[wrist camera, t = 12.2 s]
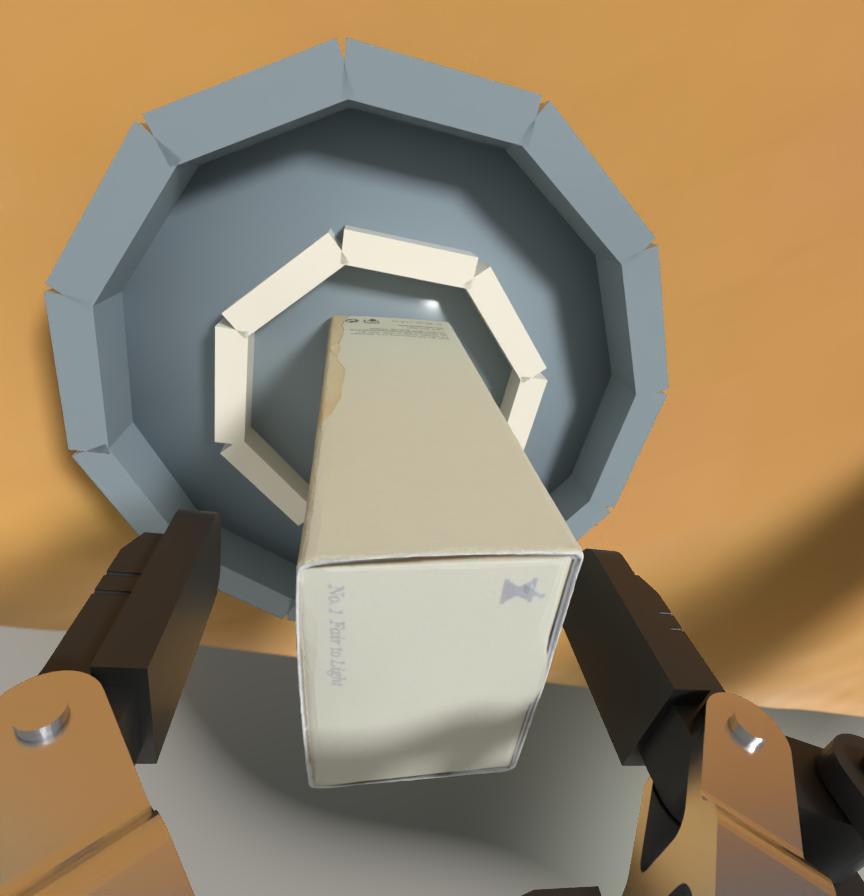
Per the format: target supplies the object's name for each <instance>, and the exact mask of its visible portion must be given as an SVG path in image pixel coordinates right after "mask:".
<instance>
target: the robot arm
mask: <svg viewBox="0 0 864 896" xmlns="http://www.w3.org/2000/svg"><path fill="white" fill-rule="evenodd" d="M582 552H583V554H584V557H583V562H582V565H581V568H580V571H579V573H578V576H577V579H576V582H575V586H574V591H573V594H572V596H571V599H570V603H569V607H568V609H567V613H566V616H565V620H564V622H563V628H564V630H565V632H566V635H567V637H568V639H569V642H570V644H571V647H572V649H573V651H574V654H575V656H576V658H577V661H578V663H579V665H580V668H581V670H582V672H583V675H584V677H585V679H586V682H587V684H588V687H589V689H590V691H591V694H592V696H593V698H594V701H595V703H596V705H597V708H598V710H599V712H600V715H601V717H602V719H603V722H604V724H605V726H606V728H607V731H608V734H609V736H610V738H611V741H612V743H613V745H614V748H615V750H616V752H617V754H618V757H619V759H620V762H621V764H622V766H624V765H625V766H632V765H633V766H643V765H645V766H646V767H647V770H648V772H649V774H650V777H649V778H648V780H647V781H646V783H645V785H644V789H643V795H642V800H641V806H640V812H639V818H638V824H637V829H636V836H635V841H634V847H633V853H632V859H631V864H630V870H629V876H628V880H627V884H626V886H625V889H624V892H623V894H622V896H864V882H863V880H862V879H861V877H860V876H859V874H858V872H857V871H859V870H860V869H861V868H863V867H864V738H862V737H859V736H856V735H852V734H840V735H838V736H836V737H835V738H834V739H833V740H832V741H831V742H830V743H829V744H828V745H827V746H826V747H825V748H824V749H823V748H820V747H817V746H814V745H811V744H808V743H805V742H802V741H799V740H796V739H793V738H791V737H788V736H785V735H784V734H783V732H782V731H781V729H780V728H779V727H778V725H777V724H776V723H775V722H774V721H773V720H772V719H771V718H770V717H769V716H768V715H767V714H766V713H765V712H764V711H762V710H761V709H760V708H759V707H757V706H756V705H754V704H753V703H751V702H750V701H748V700H746V699H744V698H742V697H740V696H737V695H734V694H731V693H726V692H725V691H724V689H723V688H722V686H721V685H720V683H719V682H718V680H717V679H716V677H715V676H714V675H713V673H712V672H711V670H710V669H709V667H708V666H707V664H706V663H705V661H704V660H703V658H702V657H701V655H700V654H699V653H698V651H697V650H696V648H695V647H694V645H693V644H692V642H691V641H690V639H689V638H688V636H687V635H686V634H685V632H682V631H681V626H680V625H679V623H678V622H677V620H676V619H675V617H674V616H671V614H670V613H671V612H670V610H669V609H668V607H667V606H666V604H665V603H664V601H663V600H662V598H661V597H660V595H659V594H658V593H657V592H656V591H655V590H654V589H653V588H652V587H651V586H650V585H648V584H647V583H646V582H645V581H644V580H643V579H642V578H641V577H640V576H638V575H635V574H634V572H633V571H632V569H631V568H630V566H629V565H628V563H627V562H626V560H625V559H624V557H623V556H622V555H621V554H620V553H619V552H616V551H606V550H596V549H585V550H583V551H582ZM220 561H221V516H220V513H219V512H209V511H199V510H188V509H179V510H178V511H177V512H176V513H175V515H174V517H173V519H172V520H171V522H170V524H169V526H168V527H167V529H166V531H165V533H164V534H161V533H150V532H144V533H143V534H141V535H140V536H139V537H137V538H136V539H134V540H133V541H132V542H130V543H129V544H128V545H126V546H125V547H123V548H122V549H121V550H120V551H119V553H118V555H117V556H116V558H115V559H114V561H113V562H112V564H111V565H110V567H109V568H108V570H107V574H106V575H104V576H103V578H102V579H101V581H100V582H99V584H98V585H97V587H96V588H95V592H94V594H91V596H90V598H89V599H88V601H87V602H86V604H85V605H84V607H83V608H82V610H81V611H80V613H79V614H78V616H77V618H76V619H75V621H74V622H73V624H72V625H71V627H70V628H69V630H68V631H67V633H66V634H65V636H64V637H63V639H62V641H61V642H60V644H59V645H58V647H57V648H56V650H55V651H54V653H53V654H52V656H51V657H50V659H49V661H48V662H47V664H46V665H45V667H44V668H43V669H42V671H41V672H40V673H39V675H37V676H36V677H33V678H30V679H28V680H26V681H24V682H22V683H20V684H18V685H16V686H15V687H13V688H11V689H9V690H8V691H7V692H5V693H4V694H3V695H1V696H0V896H195V895H194V893H193V890H192V888H191V886H190V883H189V881H188V878H187V876H186V873H185V871H184V869H183V866H182V864H181V861H180V859H179V856H178V854H177V851H176V849H175V846H174V844H173V841H172V839H171V836H170V834H169V832H168V829H167V827H166V825H165V823H164V821H163V819H162V817H161V816H160V814H159V813H158V811H156V810H155V811H154V810H153V809H152V807H151V806H150V804H149V801H148V799H147V797H146V794H145V792H144V790H143V787H142V785H141V782H140V779H139V777H138V774H137V772H136V769H135V767H134V766H135V764H156V763H157V760H158V758H159V755H160V752H161V749H162V746H163V744H164V741H165V738H166V735H167V732H168V730H169V727H170V724H171V721H172V718H173V716H174V713H175V710H176V707H177V704H178V701H179V699H180V696H181V693H182V690H183V688H184V685H185V682H186V679H187V676H188V674H189V671H190V668H191V665H192V662H193V660H194V657H195V654H196V651H197V648H198V646H199V643H200V640H201V637H202V634H203V631H204V629H205V626H206V623H207V620H208V617H209V615H210V612H211V609H212V606H213V603H214V601H215V597H216V594H217V589H218V584H219V578H220ZM522 896H601V894H600V891H599V888H598V886H595V887H577V888H559V889H541V890H533V891H531V892H529V893H526V894H524V895H522Z"/></svg>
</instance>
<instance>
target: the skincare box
mask: <svg viewBox="0 0 864 896" xmlns="http://www.w3.org/2000/svg"><path fill="white" fill-rule="evenodd" d="M583 557H584V554H583V552H582V549H581V547H580V546H579V544H578V543H577V541H576V539H575V538H574V536H573V534H572V532H571V530H570V529H569V527H568V525H567V523H566V522H565V520H564V518H563V517H562V515H561V513H560V512H559V510H558V508H557V506H556V505H555V503H554V501H553V500H552V498H551V497H550V495H549V493H548V491H547V490H546V488H545V486H544V485H543V483H542V482H541V480H540V478H539V476H538V474H537V473H536V471H535V470H534V468H533V466H532V464H531V462H530V461H529V459H528V457H527V455H526V454H525V452H524V450H523V449H522V447H521V445H520V443H519V442H518V440H517V438H516V436H515V435H514V433H513V432H512V430H511V428H510V426H509V424H508V423H507V421H506V419H505V418H504V416H503V414H502V413H501V411H500V409H499V407H498V406H497V404H496V403H495V401H494V399H493V398H492V396H491V394H490V392H489V390H488V388H487V387H486V385H485V383H484V382H483V380H482V378H481V376H480V375H479V373H478V371H477V370H476V368H475V366H474V364H473V363H472V361H471V359H470V358H469V356H468V354H467V353H466V351H465V349H464V347H463V346H462V344H461V342H460V340H459V339H458V337H457V335H456V333H455V332H454V330H453V328H452V327H451V325H450V324H449V323H448V322H445V321H431V320H419V319H405V318H389V317H371V316H338V315H337V316H332V317H331V319H330V324H329V332H328V341H327V349H326V359H325V369H324V378H323V387H322V394H321V401H320V410H319V417H318V424H317V432H316V439H315V448H314V456H313V463H312V470H311V477H310V484H309V492H308V499H307V506H306V514H305V520H304V525H303V531H302V537H301V544H300V551H299V557H298V561H297V566H296V620H295V623H296V649H297V668H298V684H299V695H300V707H301V721H302V730H303V741H304V749H305V758H306V769H307V774H308V782H309V785H310V787H313V788H332V787H345V786H351V785H360V784H372V783H383V782H384V783H385V782H396V781H410V780H416V779H429V778H442V777H450V776H460V775H468V774H482V773H491V772H504V771H508V770H511V769H513V768H515V766H516V764H517V762H518V759H519V756H520V753H521V750H522V747H523V744H524V741H525V739H526V736H527V733H528V729H529V727H530V725H531V722H532V719H533V716H534V713H535V710H536V707H537V704H538V701H539V699H540V697H541V693H542V691H543V688H544V685H545V682H546V679H547V676H548V672H549V669H550V666H551V662H552V658H553V655H554V651H555V648H556V645H557V643H558V639H559V635H560V633H561V629H562V625H563V622H564V620H565V616H566V613H567V609H568V607H569V603H570V599H571V596H572V594H573V591H574V586H575V582H576V579H577V576H578V573H579V571H580V568H581V565H582V562H583Z"/></svg>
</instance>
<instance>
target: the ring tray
mask: <svg viewBox="0 0 864 896" xmlns="http://www.w3.org/2000/svg"><path fill="white" fill-rule="evenodd" d="M541 97H542V95H540V94H536V93H533V92H530V91H526V90H523V89H520V88H516V87H513V86H509V85H506V84H503V83H499V82H496V81H492V80H489V79H486V78H482V77H479V76H475V75H472V74H469V73H465V72H462V71H458V70H455V69H452V68H448V67H445V66H441V65H438V64H435V63H431V62H428V61H424V60H421V59H418V58H414V57H411V56H407V55H404V54H401V53H397V52H394V51H390V50H387V49H384V48H380V47H377V46H373V45H370V44H367V43H363V42H360V41H356V40H353V39H350V38H347V39H346V49H345V59H344V60H343V57H342V54H341V51H340V48H339V45H338V42H337V39H336V38H335V39H332V40H330V41H327V42H325V43H322V44H320V45H317V46H315V47H312V48H310V49H307V50H304V51H302V52H299V53H297V54H294V55H292V56H289V57H287V58H284V59H282V60H279V61H276V62H274V63H271V64H269V65H266V66H264V67H261V68H259V69H256V70H254V71H251V72H249V73H246V74H243V75H241V76H238V77H236V78H233V79H231V80H228V81H226V82H223V83H221V84H218V85H215V86H213V87H210V88H208V89H205V90H203V91H200V92H198V93H195V94H193V95H190V96H188V97H185V98H182V99H180V100H177V101H175V102H172V103H170V104H167V105H165V106H162V107H160V108H157V109H154V110H152V111H149V112H147V113H144V114H142V115H143V117H144V119H145V121H146V123H142V122H137V121H134V123H133V125H132V127H131V129H130V130H129V132H128V134H127V136H126V138H125V139H124V141H123V143H122V145H121V147H120V149H119V150H118V152H117V154H116V156H115V158H114V159H113V161H112V163H111V165H110V167H109V169H108V170H107V172H106V174H105V176H104V178H103V179H102V181H101V183H100V185H99V187H98V189H97V190H96V192H95V194H94V196H93V198H92V199H91V201H90V203H89V205H88V207H87V209H86V210H85V212H84V214H83V216H82V218H81V219H80V221H79V223H78V225H77V227H76V228H75V230H74V232H73V234H72V236H71V238H70V239H69V241H68V243H67V245H66V247H65V248H64V250H63V252H62V254H61V256H60V258H59V259H58V261H57V263H56V265H55V267H54V268H53V270H52V272H51V274H50V276H49V278H48V279H47V281H46V283H45V284H47V285H48V286H50V287H51V288H53V289H50V290H48V291H45V292H44V296H45V302H46V309H47V315H48V322H49V328H50V334H51V341H52V347H53V354H54V360H55V366H56V373H57V379H58V386H59V392H60V398H61V405H62V411H63V418H64V424H65V431H66V437H67V443H68V450H77V451H76V452H75V453H74V454H73V455H72V457H73V458H74V459H75V461H76V462H77V463H78V464H79V465H80V467H81V468H82V469H83V470H84V471H85V472H86V474H87V475H88V476H89V477H90V478H91V480H92V481H93V482H94V483H95V484H96V485H97V487H98V488H99V489H100V490H101V491H102V493H103V494H104V495H105V496H106V497H107V498H108V500H109V501H110V502H111V503H112V504H113V506H114V507H115V508H116V509H117V510H118V511H119V513H120V514H121V515H122V516H123V517H124V519H125V520H126V521H127V522H128V523H129V524H130V526H131V527H132V528H133V529H134V530H135V532H136V533H137V534H138V535H139V536H140V535H141V534H143V533H144V532H150V533H161V534H164V533H165V531H166V529H167V527H168V526H169V524H170V522H171V520H172V519H173V517H174V515H175V513H176V512H177V511H178V510H179V509H188V510H199V511H209V512H219V513H220V516H221V561H220V578H219V584H218V589H217V590H220V591H222V592H224V593H226V594H228V595H231V596H233V597H235V598H237V599H239V600H242V601H244V602H246V603H248V604H250V605H253V606H255V607H257V608H259V609H261V610H264V611H266V612H268V613H270V614H272V615H275V616H277V617H279V618H281V619H282V618H283V617H284V616H285V615H286V614H287V613H288V620H296V566H297V561H298V557H299V551H300V544H301V537H302V531H303V525H304V520H305V514H306V506H307V499H308V492H309V484H310V477H311V470H312V463H313V456H314V448H315V439H316V432H317V424H318V417H319V410H320V401H321V394H322V387H323V378H324V369H325V359H326V349H327V341H328V332H329V324H330V319H331V317H332V316H337V315H338V316H371V317H389V318H405V319H419V320H431V321H445V322H448V323H449V324H450V325H451V327H452V328H453V330H454V332H455V333H456V335H457V337H458V339H459V340H460V342H461V344H462V346H463V347H464V349H465V351H466V353H467V354H468V356H469V358H470V359H471V361H472V363H473V364H474V366H475V368H476V370H477V371H478V373H479V375H480V376H481V378H482V380H483V382H484V383H485V385H486V387H487V388H488V390H489V392H490V394H491V396H492V398H493V399H494V401H495V403H496V404H497V406H498V407H499V409H500V411H501V413H502V414H503V416H504V418H505V419H506V421H507V423H508V424H509V426H510V428H511V430H512V432H513V433H514V435H515V436H516V438H517V440H518V442H519V443H520V445H521V447H522V449H523V450H524V452H525V454H526V455H527V457H528V459H529V461H530V462H531V464H532V466H533V468H534V470H535V471H536V473H537V474H538V476H539V478H540V480H541V482H542V483H543V485H544V486H545V488H546V490H547V491H548V493H549V495H550V497H551V498H552V500H553V501H554V503H555V505H556V506H557V508H558V510H559V512H560V513H561V515H562V517H563V518H564V520H565V522H566V523H567V525H568V527H569V529H570V530H571V532H572V534H573V536H574V538H575V539H576V541H577V540H578V539H579V538H581V537H582V536H583V535H584V534H585V533H587V532H588V531H589V530H590V529H591V528H593V527H594V526H595V525H596V524H597V523H598V522H600V521H601V520H602V519H603V518H604V517H606V516H607V515H608V514H609V513H610V510H609V509H608V508H607V507H615V505H616V503H617V501H618V499H619V497H620V495H621V492H622V490H623V488H624V486H625V484H626V482H627V480H628V477H629V475H630V473H631V471H632V469H633V467H634V465H635V462H636V460H637V458H638V456H639V454H640V452H641V450H642V448H643V445H644V443H645V441H646V439H647V437H648V435H649V433H650V430H651V428H652V426H653V424H654V422H655V420H656V418H657V416H658V413H659V411H660V409H661V407H662V405H663V403H664V401H665V398H666V396H667V394H666V393H664V392H663V391H662V390H665V389H668V388H669V387H668V373H667V360H666V346H665V332H664V318H663V304H662V290H661V277H660V263H659V249H658V245H655V244H651V242H652V241H653V240H654V239H655V237H654V235H653V234H652V233H651V231H650V230H649V229H648V227H647V226H646V225H645V224H644V222H643V221H642V220H641V218H640V217H639V216H638V214H637V213H636V212H635V211H634V209H633V208H632V207H631V205H630V204H629V203H628V201H627V200H626V199H625V198H624V196H623V195H622V194H621V192H620V191H619V190H618V188H617V187H616V186H615V185H614V183H613V182H612V181H611V179H610V178H609V177H608V175H607V174H606V173H605V172H604V170H603V169H602V168H601V166H600V165H599V164H598V163H597V161H596V160H595V159H594V157H593V156H592V155H591V153H590V152H589V151H588V150H587V148H586V147H585V146H584V144H583V143H582V142H581V140H580V139H579V138H578V137H577V135H576V134H575V133H574V131H573V130H572V129H571V127H570V126H569V125H568V124H567V122H566V121H565V120H564V118H563V117H562V116H561V114H560V113H559V112H558V111H557V109H556V108H555V107H554V105H553V104H552V103H551V101H547V102H544V103H542V104H540V101H541Z"/></svg>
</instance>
